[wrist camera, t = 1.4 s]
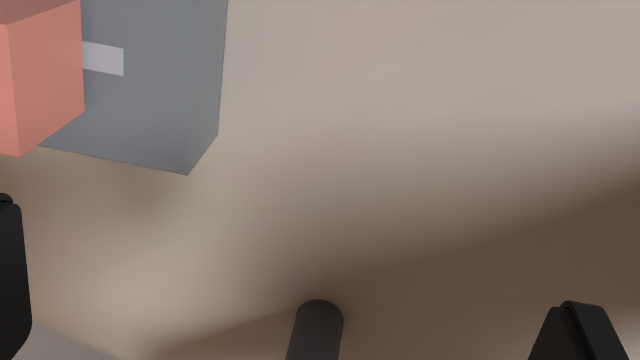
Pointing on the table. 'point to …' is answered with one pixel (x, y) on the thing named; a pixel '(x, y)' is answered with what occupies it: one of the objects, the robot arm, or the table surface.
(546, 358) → the robot arm
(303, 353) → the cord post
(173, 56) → the box
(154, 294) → the table surface
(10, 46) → the switch
